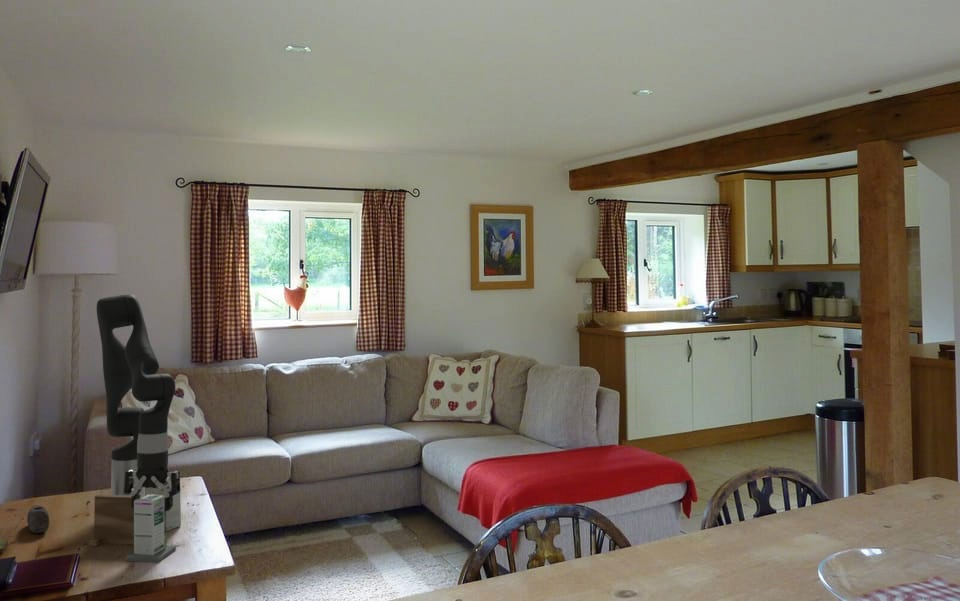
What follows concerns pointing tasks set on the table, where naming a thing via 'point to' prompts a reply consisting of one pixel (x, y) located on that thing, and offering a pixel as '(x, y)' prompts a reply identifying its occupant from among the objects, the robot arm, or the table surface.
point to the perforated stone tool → (38, 519)
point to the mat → (149, 558)
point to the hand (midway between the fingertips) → (152, 509)
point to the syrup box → (149, 525)
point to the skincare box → (174, 513)
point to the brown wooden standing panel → (113, 520)
